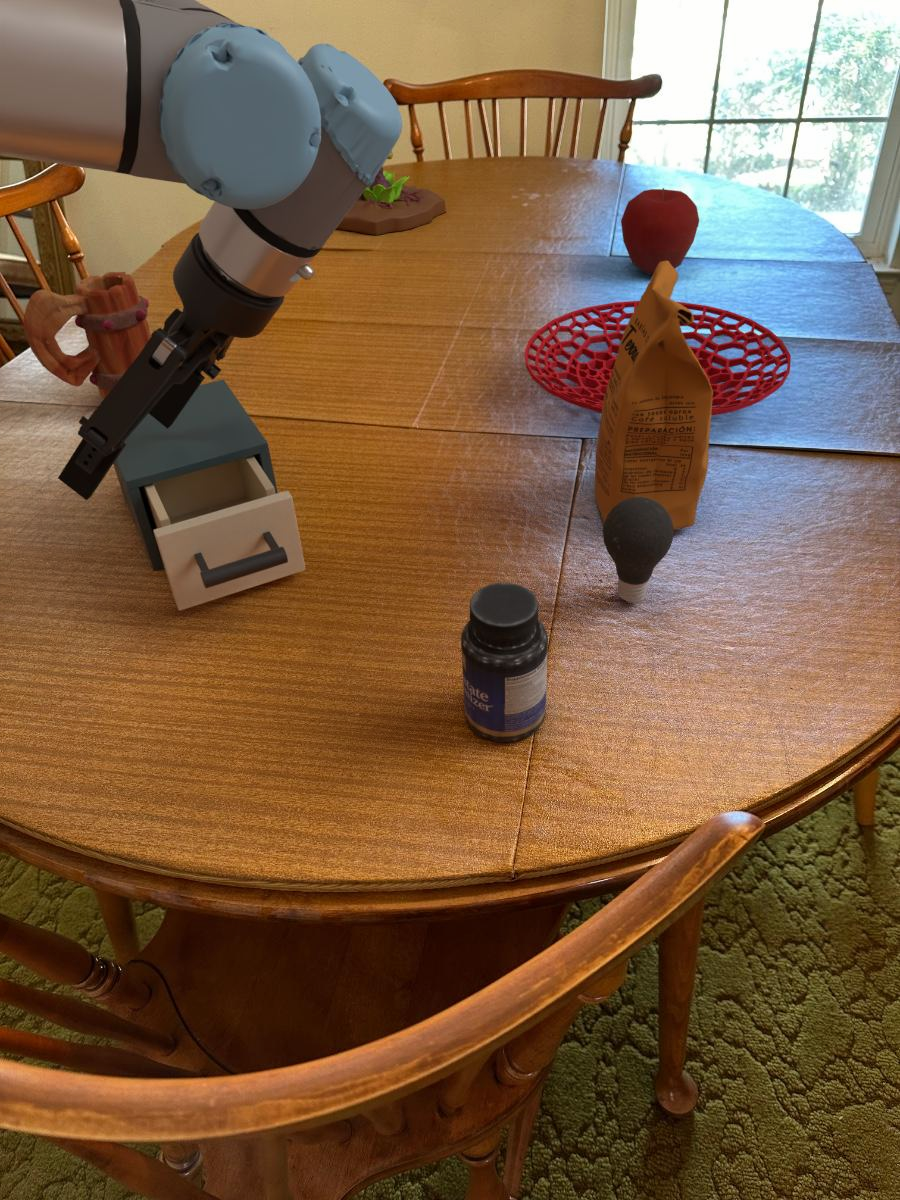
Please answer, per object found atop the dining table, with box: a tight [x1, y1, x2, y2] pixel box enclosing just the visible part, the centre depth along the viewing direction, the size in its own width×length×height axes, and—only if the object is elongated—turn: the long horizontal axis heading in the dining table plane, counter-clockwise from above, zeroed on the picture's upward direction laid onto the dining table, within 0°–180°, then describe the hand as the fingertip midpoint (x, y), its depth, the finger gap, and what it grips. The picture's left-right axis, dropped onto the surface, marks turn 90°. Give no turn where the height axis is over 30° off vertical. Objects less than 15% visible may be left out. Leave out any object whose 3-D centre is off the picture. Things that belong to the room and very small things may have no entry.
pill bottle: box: [460, 582, 549, 743], centre depth 67 cm, size 6×6×11 cm
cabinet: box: [112, 379, 279, 571], centre depth 91 cm, size 15×13×10 cm
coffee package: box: [594, 261, 713, 531], centre depth 84 cm, size 10×12×22 cm
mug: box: [23, 271, 151, 400], centre depth 108 cm, size 15×8×15 cm, turn 130°
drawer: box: [141, 455, 307, 612], centre depth 83 cm, size 18×12×8 cm, turn 26°
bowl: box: [524, 300, 792, 417], centre depth 107 cm, size 29×29×5 cm
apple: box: [620, 187, 700, 275], centre depth 133 cm, size 11×11×12 cm
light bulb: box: [602, 497, 675, 604], centre depth 77 cm, size 6×6×10 cm
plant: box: [335, 151, 447, 236], centre depth 160 cm, size 20×20×11 cm
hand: (118, 450), depth 79 cm, fingers open, 13 cm apart
